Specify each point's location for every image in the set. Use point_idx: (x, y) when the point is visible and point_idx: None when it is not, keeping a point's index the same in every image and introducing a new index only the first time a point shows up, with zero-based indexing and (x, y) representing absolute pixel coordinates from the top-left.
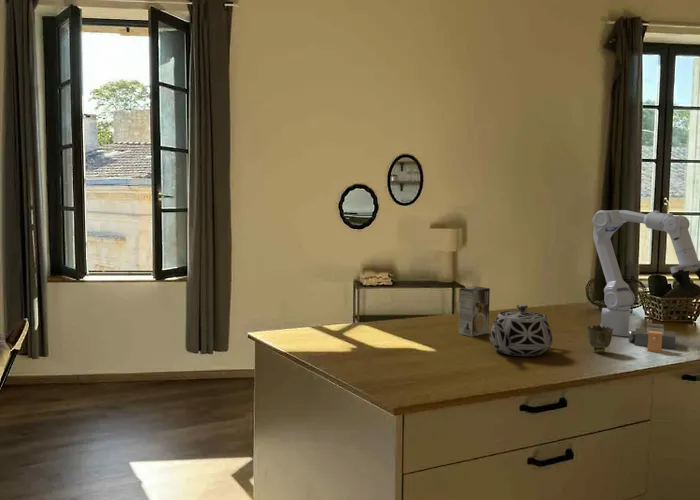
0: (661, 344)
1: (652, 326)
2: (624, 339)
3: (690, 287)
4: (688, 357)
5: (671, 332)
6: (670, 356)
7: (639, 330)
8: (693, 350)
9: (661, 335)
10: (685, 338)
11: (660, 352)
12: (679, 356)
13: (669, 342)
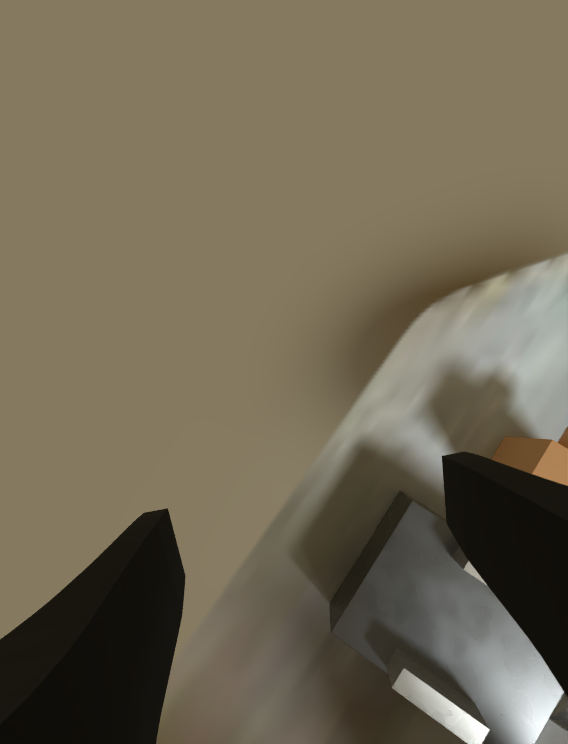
0: (523, 438)
1: (456, 701)
2: (548, 734)
3: (496, 467)
4: (426, 343)
5: (363, 614)
6: (500, 366)
7: (532, 696)
8: (321, 458)
9: (551, 442)
10: (196, 703)
11: (507, 437)
12: (457, 362)
13: (427, 509)
